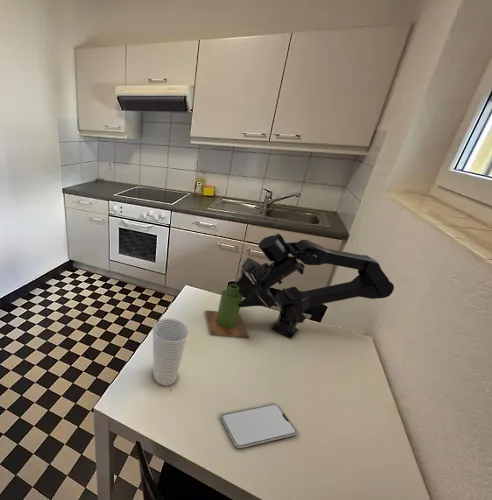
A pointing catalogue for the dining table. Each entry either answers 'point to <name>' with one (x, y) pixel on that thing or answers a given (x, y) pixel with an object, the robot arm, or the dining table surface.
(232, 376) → the dining table surface
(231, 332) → the trivet
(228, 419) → the smartphone
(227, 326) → the oil bottle
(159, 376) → the cup
